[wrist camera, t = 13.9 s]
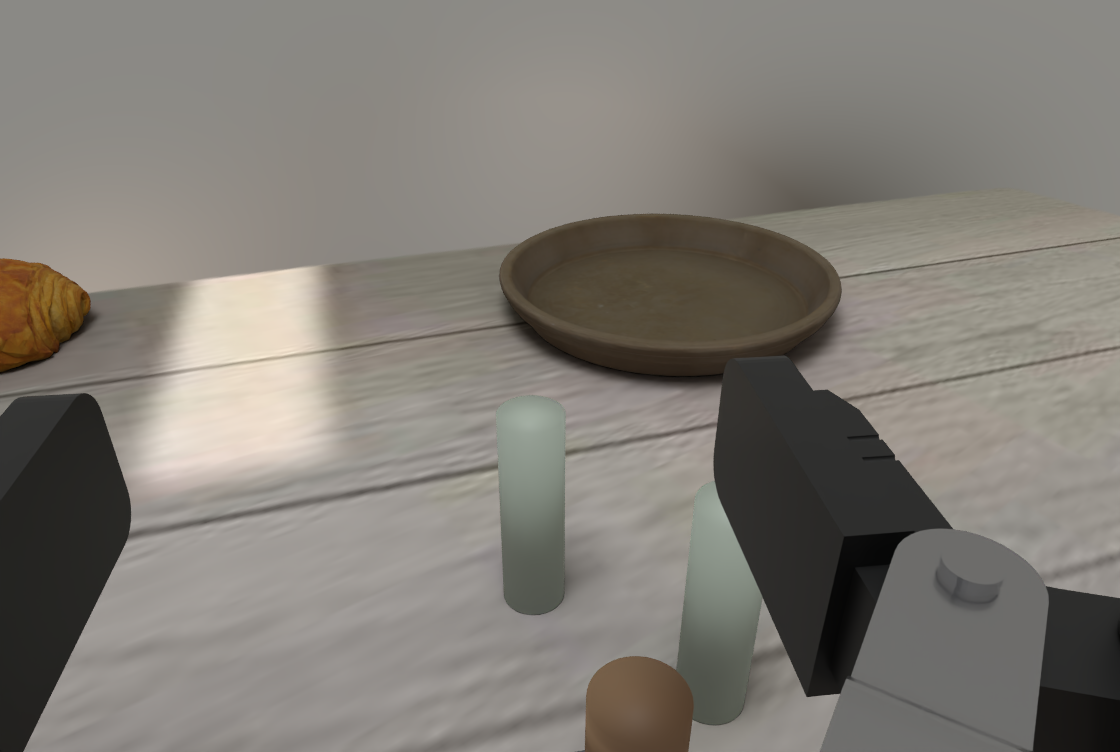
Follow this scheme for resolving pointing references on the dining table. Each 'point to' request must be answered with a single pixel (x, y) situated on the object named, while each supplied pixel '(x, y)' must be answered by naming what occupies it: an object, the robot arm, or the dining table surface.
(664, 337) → the plant saucer
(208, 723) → the dining table surface
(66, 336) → the croissant
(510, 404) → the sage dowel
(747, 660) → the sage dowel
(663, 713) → the walnut dowel
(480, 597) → the dining table surface
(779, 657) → the dining table surface
